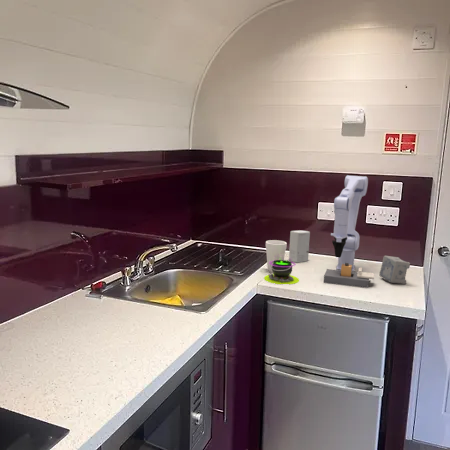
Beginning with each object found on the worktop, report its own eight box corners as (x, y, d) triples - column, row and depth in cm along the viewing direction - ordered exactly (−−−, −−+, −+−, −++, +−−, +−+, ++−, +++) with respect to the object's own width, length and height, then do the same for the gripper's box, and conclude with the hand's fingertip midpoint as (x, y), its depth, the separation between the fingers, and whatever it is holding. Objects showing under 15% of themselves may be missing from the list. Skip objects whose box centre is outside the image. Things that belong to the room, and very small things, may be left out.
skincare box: (296, 263, 226) (298, 233, 224) (288, 260, 231) (289, 230, 229) (308, 260, 231) (310, 231, 229) (300, 258, 236) (302, 229, 233)
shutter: (357, 273, 200) (358, 266, 200) (374, 274, 198) (374, 268, 198) (357, 277, 194) (357, 270, 194) (373, 279, 192) (374, 272, 192)
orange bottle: (341, 279, 202) (342, 261, 200) (350, 280, 201) (352, 262, 199) (340, 282, 198) (341, 263, 197) (349, 283, 197) (351, 264, 196)
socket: (326, 275, 207) (327, 268, 207) (368, 280, 202) (369, 273, 201) (323, 282, 197) (323, 275, 196) (368, 287, 191) (368, 280, 191)
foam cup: (271, 266, 219) (272, 239, 217) (288, 270, 214) (290, 242, 212) (260, 270, 212) (261, 242, 209) (278, 274, 206) (280, 245, 204)
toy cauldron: (256, 278, 201) (257, 253, 199) (280, 272, 210) (282, 248, 208) (282, 287, 189) (283, 260, 187) (306, 280, 199) (308, 255, 197)
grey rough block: (408, 284, 198) (411, 260, 196) (390, 285, 196) (393, 261, 194) (395, 277, 207) (398, 254, 206) (378, 278, 206) (380, 255, 204)
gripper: (333, 220, 209) (330, 250, 212) (329, 226, 196) (327, 258, 198) (349, 222, 207) (347, 252, 210) (347, 228, 194) (344, 259, 196)
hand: (338, 255), depth 204 cm, fingers open, 7 cm apart
